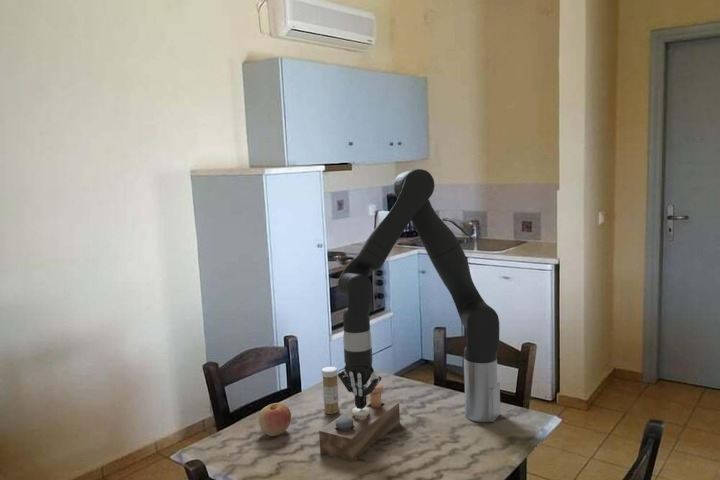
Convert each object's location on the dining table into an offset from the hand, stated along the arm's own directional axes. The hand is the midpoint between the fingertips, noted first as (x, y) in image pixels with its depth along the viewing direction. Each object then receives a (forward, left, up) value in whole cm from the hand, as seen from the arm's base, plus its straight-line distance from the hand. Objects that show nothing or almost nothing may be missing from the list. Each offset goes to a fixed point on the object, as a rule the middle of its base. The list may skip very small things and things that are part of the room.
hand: (360, 407), depth 161 cm
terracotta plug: (0, -8, -4) cm, 9 cm away
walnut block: (0, 0, -8) cm, 8 cm away
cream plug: (0, 0, -8) cm, 8 cm away
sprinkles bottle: (+17, -10, -9) cm, 22 cm away
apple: (+23, +9, -9) cm, 26 cm away
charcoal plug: (0, +8, -8) cm, 11 cm away
